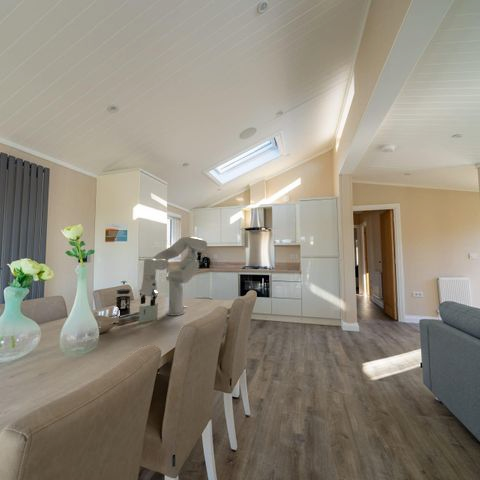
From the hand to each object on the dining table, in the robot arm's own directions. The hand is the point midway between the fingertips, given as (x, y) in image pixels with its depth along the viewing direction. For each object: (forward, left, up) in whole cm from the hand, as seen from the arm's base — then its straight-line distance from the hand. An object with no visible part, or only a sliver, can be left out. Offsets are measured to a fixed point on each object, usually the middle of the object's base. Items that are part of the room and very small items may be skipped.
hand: (147, 304), depth 156 cm
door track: (+5, -10, -10) cm, 15 cm away
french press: (0, -27, -10) cm, 29 cm away
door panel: (-1, 0, -10) cm, 10 cm away
